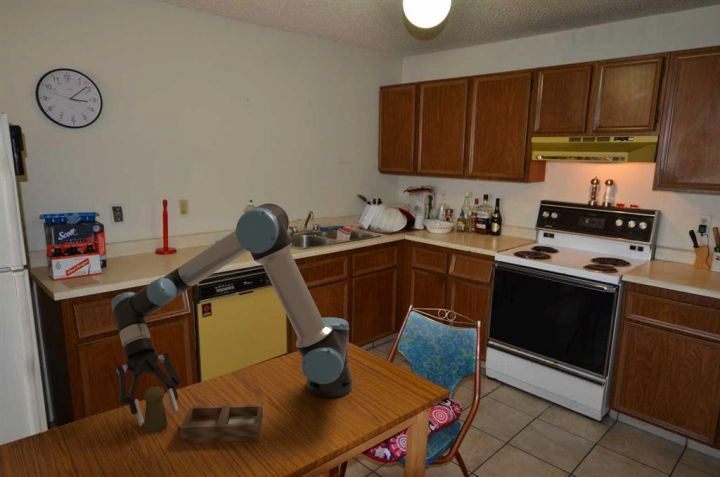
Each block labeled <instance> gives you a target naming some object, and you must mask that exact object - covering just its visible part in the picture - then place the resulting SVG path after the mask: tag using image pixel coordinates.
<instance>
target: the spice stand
mask: <svg viewBox="0 0 720 477" xmlns="http://www.w3.org/2000/svg"><path fill="white" fill-rule="evenodd" d="M263 413H264V410H263V403H262V404H261V403H260V404H232V405H199V406H195V405H194V406H190V407H189V409H188V411H187V412H186V415H185V417H184V420H182V424H181V426H180V428H179V429H180V444H199V443H203V444H205V443H224V442H226V443H227V442H228V443H229V442H248V441H249V442H250V441H252V442H253V441H255V442H256V441H260V437H261V432H262V425H263V421H264V420H263V419H264V416H263V415H264V414H263Z"/></svg>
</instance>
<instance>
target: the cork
mask: <svg viewBox="0 0 720 477" xmlns="http://www.w3.org/2000/svg"><path fill="white" fill-rule="evenodd" d="M164 398H165V389H164V388H163V387H162V386H157V385H156V386H151V387H149V388H147V389H146V390H145V391H144V393H143V400H144V401H145V411H144V412H145V414H144V424H143V430H145V432H148V433H154V432H155V433H156V432H159V431H161V430H164V429H165V428H166V427H167V426H168V418H167V413H166V408H165V404H164V400H163V399H164Z"/></svg>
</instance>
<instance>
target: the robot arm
mask: <svg viewBox="0 0 720 477" xmlns="http://www.w3.org/2000/svg"><path fill="white" fill-rule="evenodd" d="M289 227H290V220H289V216H288V214H287V212H286V211H285V210H284V209H283V207H281V206H279V205H278V204H276V203H264V204H261V205H258V206H255V207H252V208H250V209H248V210H246V211H245V212H244V213H243V214H242V215H241V216H240V218H239V219H238V221H237V223H236V226H235V229H234V231H232V232H231V233H229V234H228V235H226V236H225V237H223V238H222V239H220V240H218V241H217V242H216V243H214V244H212V245H210V246H209V247H208V248H206V249H204V250H203V251H202V252H199V254H197V255H195V256H194V257H192V258H191V259H189V260H187V261H186V262H185V263H183V264H181V265H180V266H179V267H177V268H176V269H174V270H172V271H171V272H169V273H168V274H166V275H164V276H161V277H158V278H157V279H155V280H153V281H151V282H150V283H149V284H147V286H145V287H143V288H142V289H140V290H139V291H138V292H133V291H126V292H123V293H120V294H118V295H116V296H115V297H114V298H112V300H111V309H112V310H111V311H112V315H113V318H114V320H115V323H116V326H117V330H118V331H117V332H118V334H119V337H120V342H121V345H122V347H123V352H124V356H125V359H126V363H125V364H123V365H118V366H117V368H116V370H115V372H116V374H117V376H118V387H119V388H118V389H119V391H118V392H119V403H120V404H127V405H128V406H129V409H130V414H131V415H132V416H133V415H136V420H137V423H138V426H139V427H142V426H144V421H145V418H144V416H143V412H142V409H141V404H140V402H139V399H138V398H136V399H135V396H136V393H137V392H136V390H137V386H138V381H139V378H140V376H143V375H144V374H149V373H151V374H152V375H154V376H155V377H156V378H157V379H158V380H159V381H160V382H161V383H162V384H163V385H164V386H165V387H166V389H168V390H167V392H166V393H167V397H168V400H169V404H170V406H171V409H172V412H173V414H174V415H176V414H177V413H178V412H179V411H180V409H179V407H178V403H177V400H178V399H179V394H178V391H177V387H178V386H180V384H181V381H182V380H181V378H180V377H179V375H178V373H177V372H176V370H175V368H174V366H173V365H172V363H171V361H170V357H169V354H168V352H166V353H164V354H160V355H158V354H157V353H156V350H155V348H154V343H153V341H152V339H151V334H150V331H149V329H148V328H149V327H148V325H147V321H146V318H147V317H149V316H150V315H152V314H153V313H154V312H156V311H158V310H160V309H161V308H163V307H164V306H166V305H168V304H169V303H170V302H172V301H173V300H174V299H175V298H177V297H179V296H181V295H182V294H183V293H185V292H187V291H188V290H189V289H191V288H192V287H194V286H195V285H197V284H199V283H200V282H203V281H204V280H205V279H206V278H208V277H209V276H211V275H213V274H215V273H216V272H218V271H219V270H220V269H221V270H222V268H223V267H225V266H226V265H229V264H230V263H232V262H233V261H235V260H237V259H238V258H240V257H241V256H242V255H245V254H246V253H248V252H250V255H251V257H252V259H253V261H254V262H256V263H259V264H261V265H262V267H263V269H264V271H265V272H266V274H267V277H268V280H269V281H270V283H271V284H272V288H273V289H274V291H275V293H276V295H277V297H278V299H279V302H280V304H281V305H282V307H283V309H284V311H285V314H286V315H287V317H288V320H289V322H290V323H291V326H292V328H293V330H294V332H295V334H296V336H297V338H296V342H295V347H296V349H297V351H298V353H299V355H300V357H301V359H302V360H301V370H302V374H303V375H304V376H305V378H306V389H307V391H308V392H309V393H310V394H312V395H314V396H316V397H320V398H328V399H329V398H330V399H331V398H338V397H342V396H345V395H347V394H348V393H350V392H351V390H352V389H353V377H352V374H351V370H350V368H349V364H348V363H349V359H348V358H349V336H350V335H349V333H350V332H349V331H350V326H349V322H348V321H347V320H346V319H343V318H340V317H330V316H329V317H328V316H327V317H322V316H321V313H320V311H319V309H318V307H317V305H316V302H315V301H314V299H313V297H312V295H311V292H310V290H309V288H308V287H307V284H306V282H305V280H304V277H303V275H302V274H301V272H300V269H299V267H298V264H297V263H296V261H295V259H294V257H293V254H292V252H291V248H292V245H293V242H292V241H291V238H290V236H289V234H288V231H289ZM158 361H160V363H161V364H162V365H163V368H164V369H165V371H166V372H167V374H168V375H166V373H165V372H164V371H163V370H162V368H161V367H160V366H159V365H158ZM127 370H129V371H130V372H132V373H133V374H132V379H131V384H130V385H131V386H130V390H129V394H128V396H127V384H126V373H127Z"/></svg>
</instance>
